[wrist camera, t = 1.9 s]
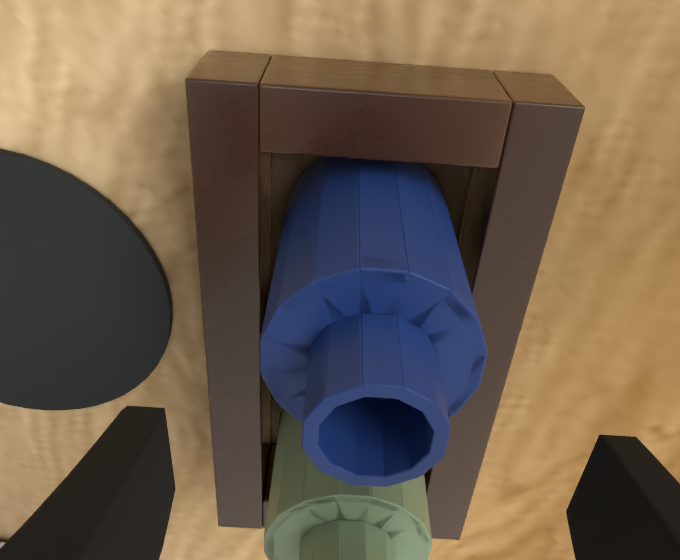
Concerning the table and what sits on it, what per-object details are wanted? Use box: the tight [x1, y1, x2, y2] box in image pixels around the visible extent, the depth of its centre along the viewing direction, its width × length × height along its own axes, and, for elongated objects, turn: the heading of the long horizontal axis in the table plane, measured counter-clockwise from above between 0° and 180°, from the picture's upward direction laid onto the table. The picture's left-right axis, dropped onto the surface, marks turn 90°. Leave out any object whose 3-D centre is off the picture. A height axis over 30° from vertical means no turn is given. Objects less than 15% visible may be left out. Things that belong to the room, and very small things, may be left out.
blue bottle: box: [260, 156, 488, 487], centre depth 14 cm, size 5×5×8 cm
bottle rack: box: [185, 50, 585, 540], centre depth 19 cm, size 9×16×3 cm, turn 176°
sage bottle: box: [264, 408, 432, 560], centre depth 18 cm, size 5×5×8 cm
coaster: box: [0, 149, 172, 410], centre depth 20 cm, size 10×10×1 cm
